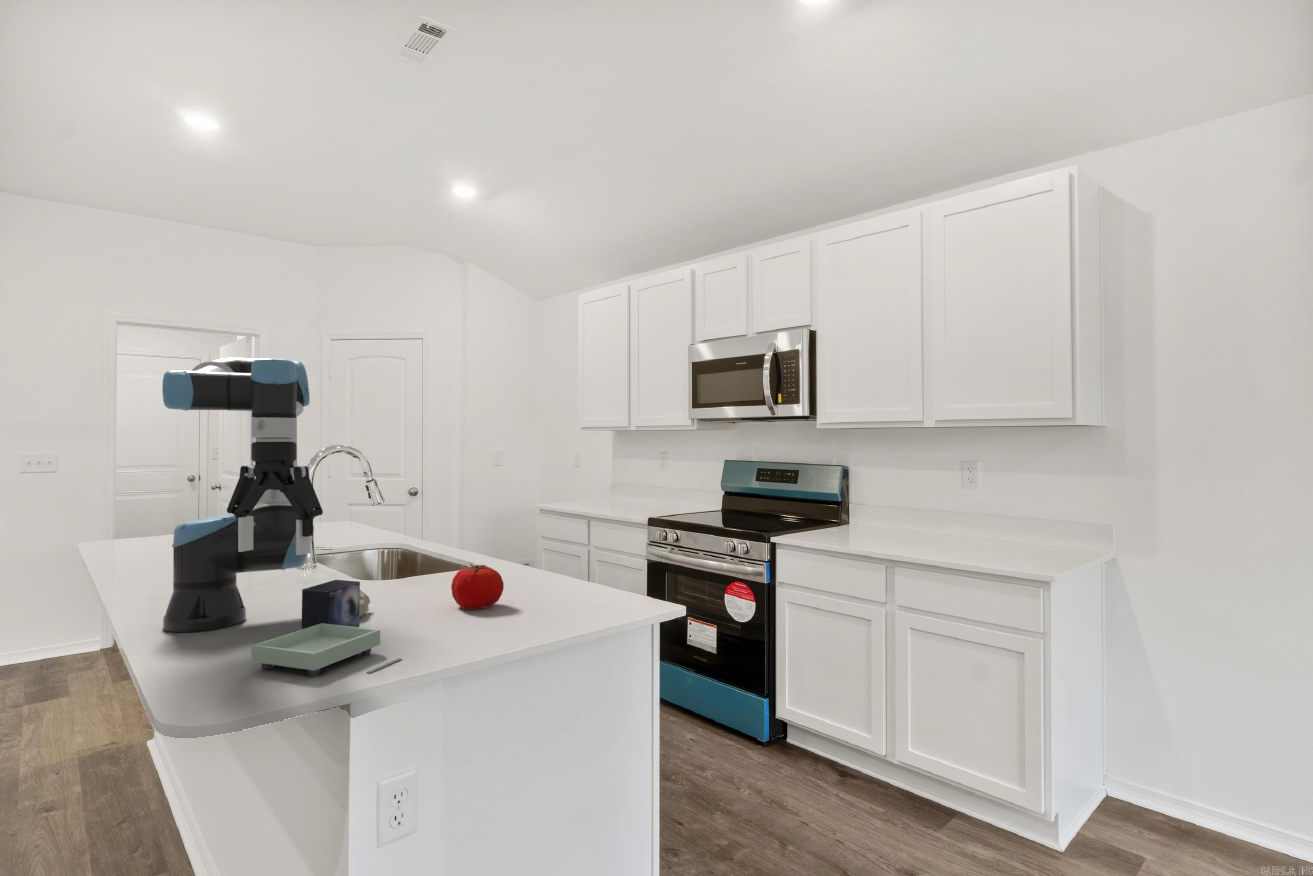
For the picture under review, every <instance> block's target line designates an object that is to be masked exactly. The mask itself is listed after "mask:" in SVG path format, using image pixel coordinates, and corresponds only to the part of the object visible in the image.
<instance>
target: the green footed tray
mask: <svg viewBox="0 0 1313 876" xmlns="http://www.w3.org/2000/svg"><path fill="white" fill-rule="evenodd" d="M380 645H381V629H377V628H367V627H360V626H359V627H351V626H342V625H333V624H325V623H321V624H318V625H315V626H311V627H308V628H305V629H302V630H301V629H299V630H296V631H293V632H289V633H286V634H284V635H280V636H277V637H274V638H272V639H271V638H270V639H268V640H265V641H260V642H258V643H255V644H252V645H251V647H250V648H251V652H250V653H251V659H250V660H251V662H252V663H257V664H258V663H259V664H261V667H262V669H263V670H270V669H272V668H273V667H274V665H275V666H279V667H287V668H294V669H300V670H301V669H302V670H307V672H308V675H309V676H310V677H316V676H318V675H319V674H320V673H321V669H323V668H324V667H327V666H329V665H333V664H334V663H337V662H340V661H342V660H345V659H347V658H350V657H352V656H355V655H357V654H361V655H362V656H368V655H370V654H371V652H372V648H373V649H374V648H375V647H376V648H377V647H378V646H380Z"/></svg>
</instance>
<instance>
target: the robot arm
mask: <svg viewBox="0 0 1313 876" xmlns="http://www.w3.org/2000/svg"><path fill="white" fill-rule="evenodd" d="M310 399H311V398H310V389H309V381H308V375H307V369H306V368H305V365H304V363H302V362H301V361H299V360H293V359H292V360H290V359H286V358H257V357H256V358H253V357H251V358H250V357H237V356H235V357H234V356H233V357H225V358H224V357H223V358H217V359H213V360H208V361H203V362H201V363H198V364H196V366H195V367H194V368H192V369H191V370H186V369H185V370H184V369H181V370H168V371H165V373H164V374H163V377H162V400H163V405H164V407H166V409H169V410H182V411H235V412H236V411H237V412H239V411H240V412H245V411H246V412H251V439H255V440H254V441H253V442H252V443H251V444H250V445H251V446H250V448H251V449H250V450H251V451H250V452H251V453H250V454H251V456H250V457H251V461H252V462H254V463H255V464H253V465H241V466H240V470H239V477H238V481H237V483H236V485H235V488H234V490H233V492H232V495H231V498H230V500H229V503H228V505H227V508H226V512H227V514H221V515H214V516H208V517H201V518H197V519H196V518H195V519H191V520H188V521H183V522H182V523H179V524H178V525H176V526H175V528H174V530H173V531H174V532H173V542H172V543H173V544H171V547H172V548H173V559H172V560H173V569H172V571H173V576H172V577H173V578H172V579H173V580H172V581H173V582H172V583H173V584H172V585H173V587H172V590H173V591H172V594H171V596H170V600H169V602H168V605H167V608H166V611H165V613H164V615H163V620H162V621H163V622H162V623H163V624H162V625H163V627H162V629H163V630H164V631H167V632H171V633H172V632H173V633H192V632H193V633H194V632H202V631H203V632H204V631H210V630H211V631H212V630H217V629H222V628H227V627H230V625H231V626H233V625H237V624H239V623H242V622H243V621H245V620H246V618H247V617H246V613H247V612H246V606H245V605H244V601H243V599H242V596H241V593H240V591H239V588H238V585H237V583H238V582H237V575H238V574H239V573H240V574H241V573H251V572H252V573H254V572H263V571H265V572H266V571H277V570H282V571H285V570H287V569H295V568H300V567H302V566H304V565H305V564H306V563H307V558H308V554H311V552H312V551H311V547H312V546H311V542H312V541H311V538H312V536H313V534H314V518H316V517H318V516H322V515H324V514H323V513H324V511H323V507H322V505H321V504H320V501H319V498H318V496H317V495H318V494H316V490H315V489H314V486H313V483H312V481H311V478H310V471H309V470H310V469H309V466H307V465H300V466H298V419H297V418H298V417H299V416H301V415H302V414H303V412H304V408H305V407H308V406H309V405H310Z"/></svg>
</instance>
